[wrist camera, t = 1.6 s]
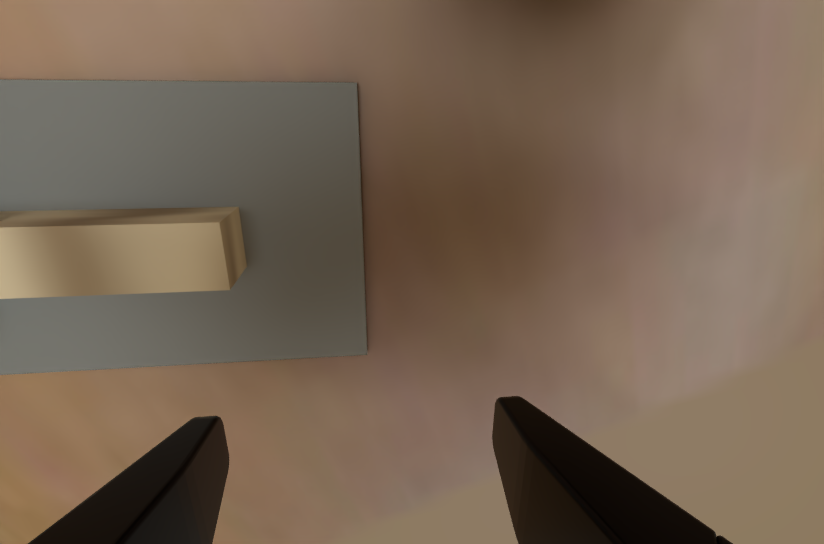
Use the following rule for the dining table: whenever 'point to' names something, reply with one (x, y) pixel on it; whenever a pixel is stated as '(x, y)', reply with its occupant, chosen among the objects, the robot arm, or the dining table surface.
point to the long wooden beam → (119, 251)
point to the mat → (191, 188)
